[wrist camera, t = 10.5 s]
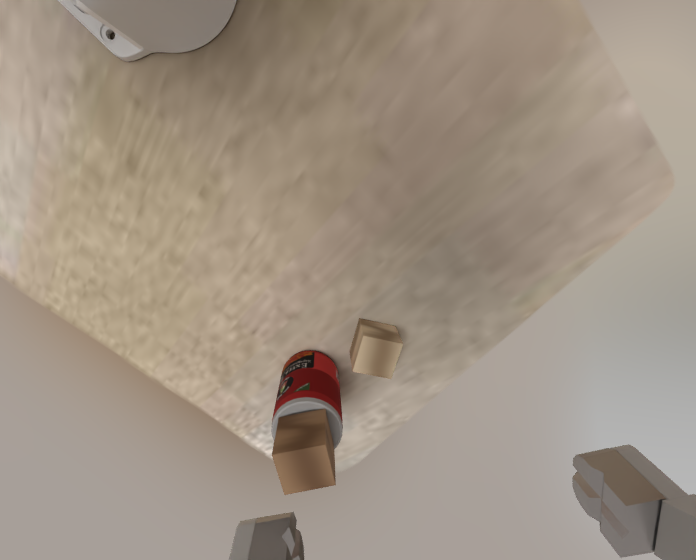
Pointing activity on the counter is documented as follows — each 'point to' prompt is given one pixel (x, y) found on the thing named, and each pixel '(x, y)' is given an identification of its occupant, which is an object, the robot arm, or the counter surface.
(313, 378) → the canned food
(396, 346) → the oak block
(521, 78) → the counter surface
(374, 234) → the counter surface
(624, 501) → the robot arm
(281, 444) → the walnut block
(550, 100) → the counter surface
